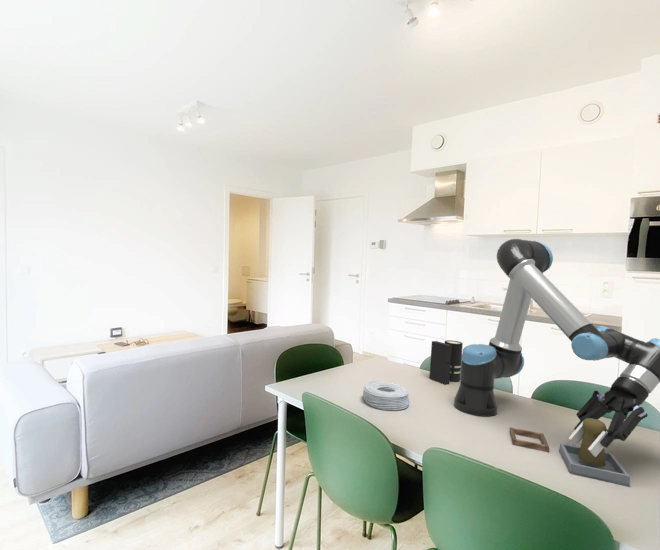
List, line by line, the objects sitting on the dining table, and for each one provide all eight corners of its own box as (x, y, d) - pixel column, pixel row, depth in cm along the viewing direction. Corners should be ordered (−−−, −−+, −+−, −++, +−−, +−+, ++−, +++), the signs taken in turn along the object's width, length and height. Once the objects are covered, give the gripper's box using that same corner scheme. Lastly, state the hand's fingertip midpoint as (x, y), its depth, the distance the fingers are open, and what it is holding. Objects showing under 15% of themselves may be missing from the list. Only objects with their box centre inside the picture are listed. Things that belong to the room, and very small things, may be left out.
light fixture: (465, 381, 170) (467, 343, 170) (445, 385, 163) (448, 345, 163) (448, 375, 179) (450, 339, 178) (428, 378, 171) (431, 341, 171)
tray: (570, 473, 95) (570, 463, 95) (559, 451, 106) (559, 442, 106) (629, 486, 90) (630, 476, 90) (611, 462, 102) (611, 453, 102)
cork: (572, 454, 101) (575, 415, 101) (593, 454, 102) (596, 415, 101) (590, 466, 95) (593, 424, 95) (611, 466, 96) (614, 425, 95)
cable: (365, 392, 148) (366, 377, 148) (408, 397, 145) (409, 382, 145) (359, 408, 131) (361, 391, 131) (409, 414, 128) (410, 397, 128)
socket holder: (512, 444, 109) (512, 439, 109) (509, 431, 118) (509, 427, 118) (548, 452, 106) (549, 447, 106) (542, 438, 114) (543, 433, 114)
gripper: (678, 407, 93) (623, 475, 89) (608, 383, 110) (560, 440, 107) (664, 387, 91) (607, 456, 88) (595, 366, 109) (546, 423, 105)
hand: (581, 447), depth 97 cm, fingers closed on cork, 5 cm apart
